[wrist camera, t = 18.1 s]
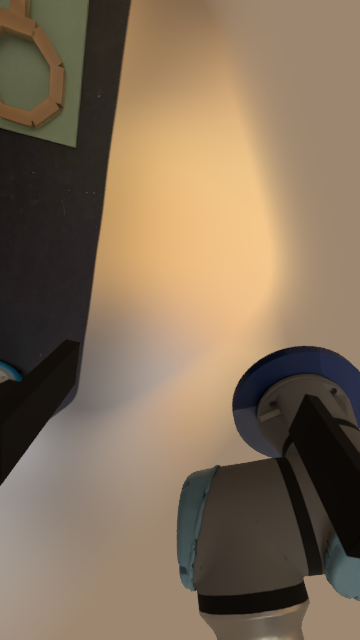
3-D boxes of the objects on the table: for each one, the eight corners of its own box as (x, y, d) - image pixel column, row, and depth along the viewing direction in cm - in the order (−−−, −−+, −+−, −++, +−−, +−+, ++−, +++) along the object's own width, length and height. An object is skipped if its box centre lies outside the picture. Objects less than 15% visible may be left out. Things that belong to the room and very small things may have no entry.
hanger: (73, 140, 34) (71, 138, 32) (-39, 107, 31) (-46, 103, 30) (95, -117, 26) (93, -133, 25) (-52, -194, 23) (-63, -216, 22)
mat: (76, 148, 34) (74, 147, 34) (-21, 122, 33) (-24, 121, 33) (99, -109, 26) (97, -114, 26) (-27, -149, 26) (-30, -155, 25)
